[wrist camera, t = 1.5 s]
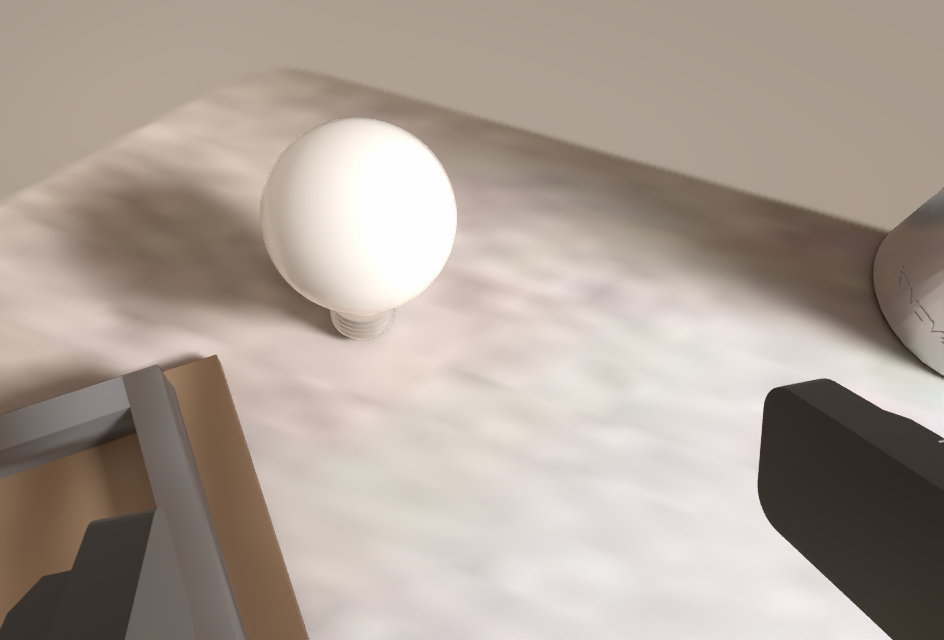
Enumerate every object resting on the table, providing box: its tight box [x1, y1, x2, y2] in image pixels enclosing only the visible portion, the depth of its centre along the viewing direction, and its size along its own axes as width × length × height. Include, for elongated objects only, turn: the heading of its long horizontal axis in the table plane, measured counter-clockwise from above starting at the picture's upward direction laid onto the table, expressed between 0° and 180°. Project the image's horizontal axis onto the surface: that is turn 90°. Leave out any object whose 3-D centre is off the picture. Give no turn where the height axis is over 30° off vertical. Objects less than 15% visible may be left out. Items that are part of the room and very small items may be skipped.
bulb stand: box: [0, 355, 309, 640], centre depth 24 cm, size 14×12×4 cm
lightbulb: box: [260, 117, 457, 340], centre depth 27 cm, size 6×6×11 cm
